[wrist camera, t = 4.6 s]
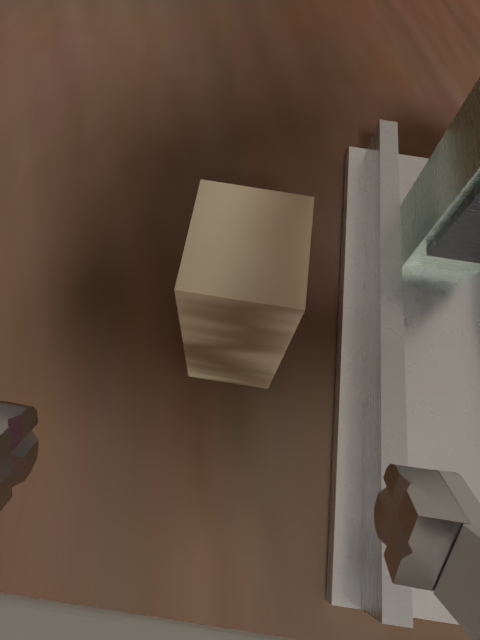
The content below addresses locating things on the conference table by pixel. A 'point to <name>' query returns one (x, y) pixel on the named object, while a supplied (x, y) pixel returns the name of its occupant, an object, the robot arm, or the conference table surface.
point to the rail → (404, 347)
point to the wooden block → (243, 281)
